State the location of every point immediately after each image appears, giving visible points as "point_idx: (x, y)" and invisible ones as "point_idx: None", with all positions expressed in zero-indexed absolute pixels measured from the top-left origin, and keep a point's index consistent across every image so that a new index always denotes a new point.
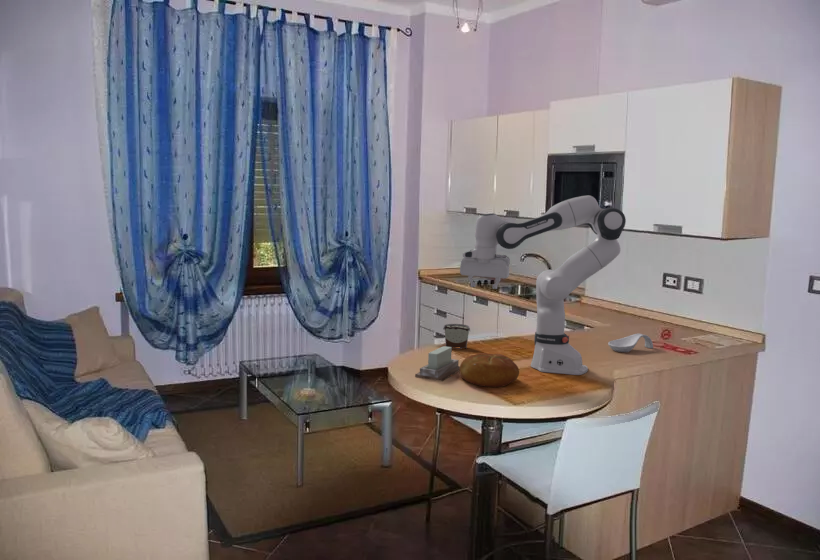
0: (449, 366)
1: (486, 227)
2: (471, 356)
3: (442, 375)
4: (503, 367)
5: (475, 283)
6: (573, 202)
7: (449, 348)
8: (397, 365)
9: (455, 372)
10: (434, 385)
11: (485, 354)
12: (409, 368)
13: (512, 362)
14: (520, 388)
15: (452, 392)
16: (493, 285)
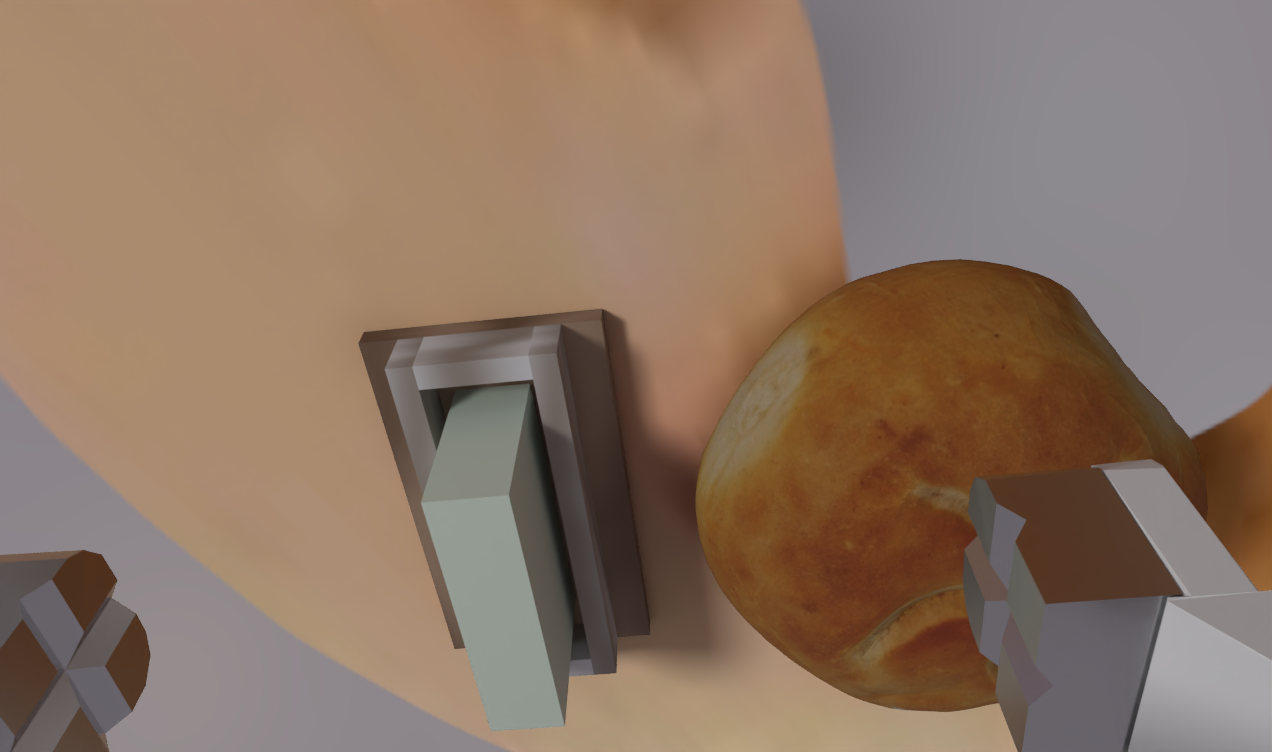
0: (587, 507)
1: None
2: (824, 644)
3: (612, 586)
4: None
5: (7, 643)
6: None
7: (518, 535)
8: (147, 494)
9: (622, 443)
10: (661, 698)
11: (928, 587)
12: (274, 509)
13: None
14: None
15: (813, 738)
16: (1051, 715)
